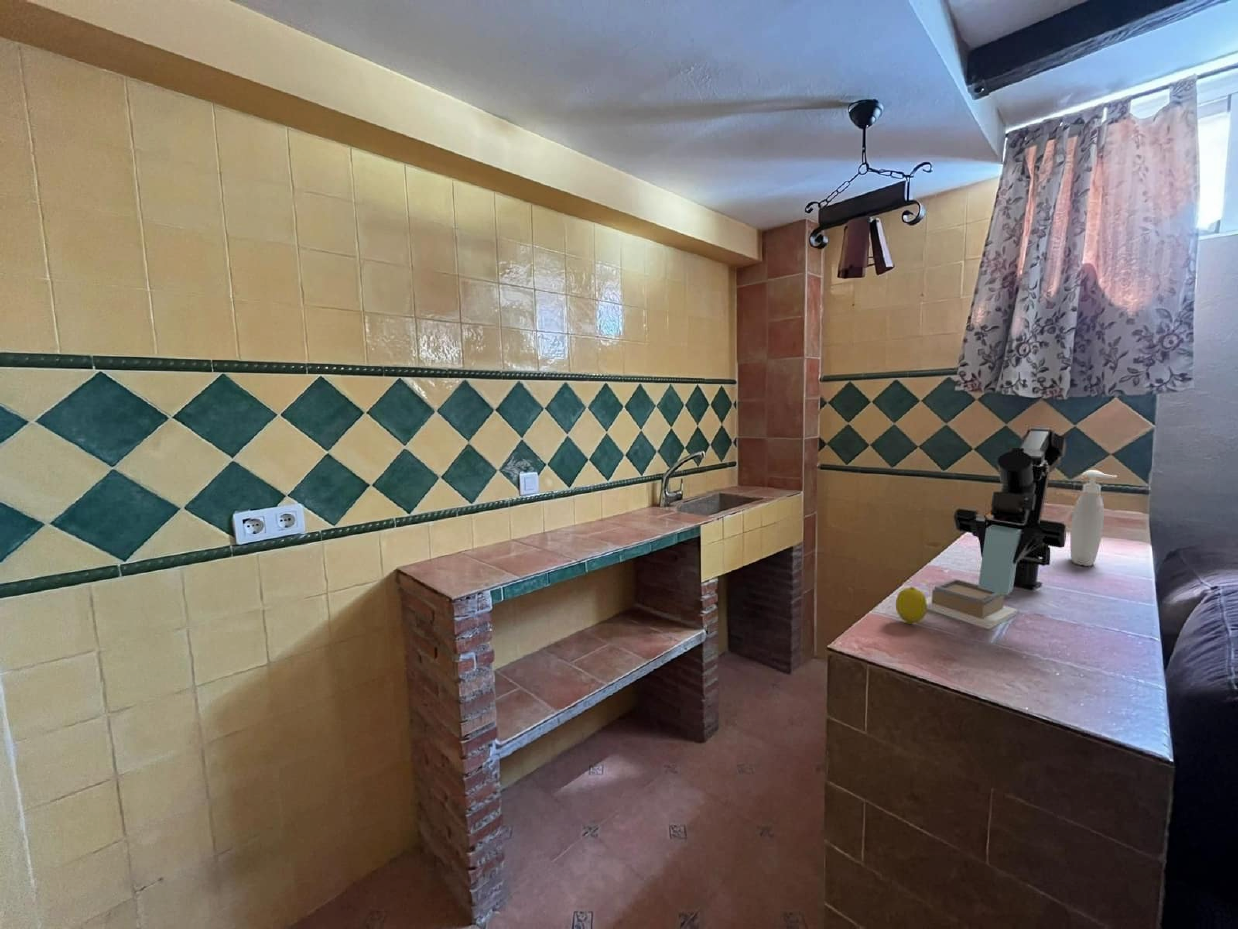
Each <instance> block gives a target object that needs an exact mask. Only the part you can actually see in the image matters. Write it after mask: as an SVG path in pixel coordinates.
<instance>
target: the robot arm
mask: <svg viewBox="0 0 1238 929" xmlns="http://www.w3.org/2000/svg"><path fill="white" fill-rule="evenodd" d="M1066 449H1067V443H1066V438H1065V437H1064V436H1062V435H1060V434H1059V433H1058V434H1057V433H1056V432H1055V429H1052V428H1047V427H1031V428H1028V429H1027V432H1026V434H1024V435H1023V436H1022V438H1021V445H1020V447H1012V449H1011V451H1007V452H1004V453H1003V454H1001V455H1000V456H999V457H998V458H997V467H998V476H999V481H1000V483H1001V484H1002V486H1001V488H1000V491H993V493H992V498H991V503H990V507H991V510H990V515H991V516H992V517H991V518H990V517H987V516H986V515H982V514H979V511H978V509H969V508H962V507H960V508H958V509H956V510H955V512H954V514H953V519H954V524H955V527H956V530H957V531H959V532H963V533H970V534H972V536H974V537H977V539H978V542H979V548H980V556H981V558H982V556H983V549H984V541H985V534H986V528H988V527H989V526H991V525H998V526H1003V527H1009V528H1015V529H1020V530H1022V531H1021V538H1020V543H1019V545H1018V548H1017V550H1016V552H1015V556H1014V560H1013V564H1017V565H1016V571H1015V578H1014V585H1013V586H1016V587H1021V588H1025V589H1028V590H1035V589H1037V588H1039V587H1040V585H1041V586H1043V583H1042V582H1040V581H1038V575H1039V566H1043V567H1045V566H1050V565H1051V563H1050V562H1051V547H1054V548H1058V549H1061V548H1065V545H1066V541H1067V525H1066V524H1065V523H1064V522H1062V521H1056V520H1050V519H1042V516H1043V510H1044V506H1045V500H1046V495H1047V491H1048V490H1047V489H1048V485H1049V484H1048V483H1049V478H1050V474H1051V473H1052V472H1053V471H1054V470H1056V468H1058V467H1059V466H1060V464H1061V459H1062V458H1065V455H1066Z"/></svg>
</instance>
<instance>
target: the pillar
mask: <svg viewBox="0 0 1238 929" xmlns="http://www.w3.org/2000/svg"><path fill="white" fill-rule="evenodd" d="M1021 531H1022V530H1020V529H1015V528H1009V527H1003V526H998V525H991V526H989V527H988V528H986V534H985V541H984V549H983V556H982V557H981V562H980V563H981V565H980V574H979V579H978V584H977V585H978V588H980V589H984V590H988V591H992V592H996V593H1000V594H1002V595H1004V596H1008V595H1009V594H1010V593H1011V592H1012V591H1013V589H1014V586H1015V585H1014V578H1015V571H1016V565H1017V564H1013V560H1014V556H1015V552H1016V550H1017V548H1018V545H1019V543H1020V538H1021Z"/></svg>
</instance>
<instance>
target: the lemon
mask: <svg viewBox="0 0 1238 929" xmlns="http://www.w3.org/2000/svg"><path fill="white" fill-rule="evenodd" d="M925 598H926V597H925V595H924V594H923V593H922V592H921V591H920V590H918V589H916V587H914V586H910V587H907V588H904V589H902V590H901V591H900V592H898V595H897V597H896V600H895V609H896V612H897V614H898V616H899V617H900V618H901V619H902V620H904V621H906V623H907V624H909V625H912V624H914V623H919V622H920V621H921V620H923V618H924V617H925V616H926V615H927V610H928V609H927V604H926V599H925Z"/></svg>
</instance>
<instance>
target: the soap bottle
mask: <svg viewBox="0 0 1238 929" xmlns="http://www.w3.org/2000/svg"><path fill="white" fill-rule="evenodd" d="M1081 477H1086V478H1089V482H1086V483H1085V484H1082V492H1081V494H1080V496H1079V497H1078V499H1077V500H1076V502H1075V506H1074V509H1073V514H1072V520H1071V526H1070V533H1069V534H1070V537H1069V538H1070V541H1069V542H1070V544H1069V545H1070V546H1069V547H1070V559H1071V561H1072V562H1073V563H1074V564H1076V565H1077V564H1078V566H1081V565H1084V566H1083V567H1090V566H1092V565H1094V564H1095V562H1096V559H1097V555H1098V552H1099V548H1100V544H1101V540H1102V537H1103V535H1102V534H1103V528H1104V520H1105V519H1104V518H1105V508H1104V506H1105V505H1104V502H1103V499H1102V495H1101V488H1102V486H1101V485H1100V484H1099V483H1096V478H1097V479H1099V478H1100V479H1116V478H1117V477H1118V475H1116V474H1115V475H1112V474H1106V473H1103V472H1102V471H1100V470H1096V469H1088V470H1086V471H1084V472H1083V473H1081Z"/></svg>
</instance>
